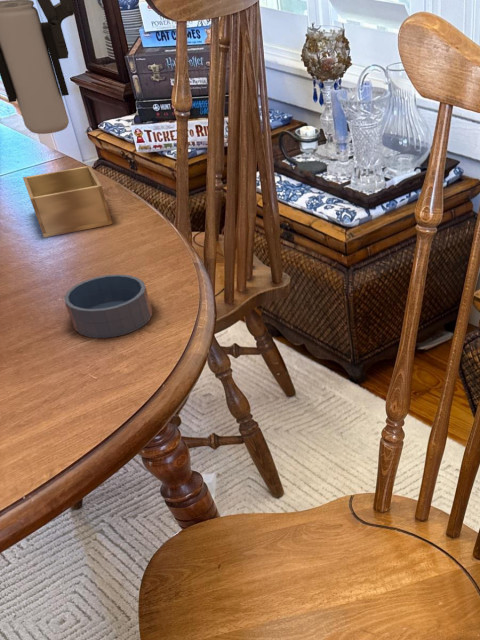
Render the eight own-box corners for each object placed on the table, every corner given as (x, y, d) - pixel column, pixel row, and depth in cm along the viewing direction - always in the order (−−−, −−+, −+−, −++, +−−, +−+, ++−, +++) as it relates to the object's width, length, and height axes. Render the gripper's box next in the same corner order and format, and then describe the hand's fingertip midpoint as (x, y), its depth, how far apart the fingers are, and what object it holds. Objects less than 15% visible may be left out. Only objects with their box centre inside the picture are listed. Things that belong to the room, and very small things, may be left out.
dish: (77, 344, 91) (68, 317, 89) (70, 310, 98) (61, 283, 95) (158, 327, 94) (150, 300, 91) (145, 294, 100) (138, 268, 98)
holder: (43, 237, 115) (30, 198, 111) (35, 214, 121) (22, 177, 117) (112, 224, 117) (101, 185, 114) (101, 202, 124) (90, 165, 120)
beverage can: (22, 136, 87) (-20, 9, 79) (31, 123, 91) (-8, 0, 83) (66, 133, 88) (29, 6, 80) (74, 120, 91) (39, -2, 83)
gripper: (-164, -185, 66) (-49, 115, 82) (55, -192, 71) (124, 94, 87) (-153, -186, 71) (-46, 97, 87) (51, -192, 76) (117, 78, 92)
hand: (38, 95), depth 87 cm, fingers closed on beverage can, 5 cm apart
